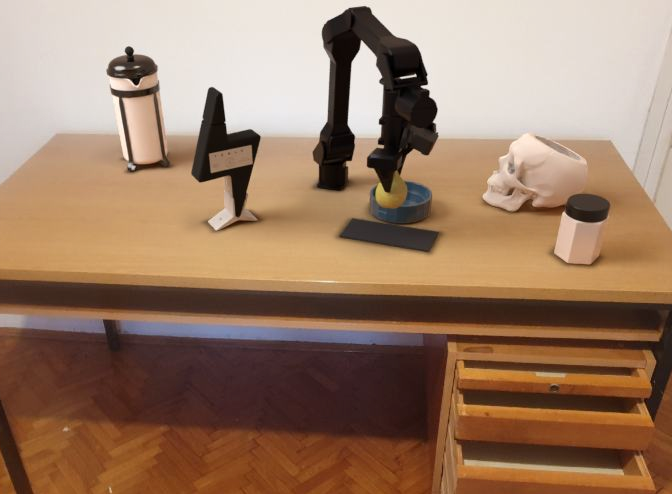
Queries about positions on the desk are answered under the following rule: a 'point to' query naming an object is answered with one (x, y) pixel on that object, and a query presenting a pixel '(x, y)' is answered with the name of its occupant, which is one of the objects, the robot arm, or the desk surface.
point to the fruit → (392, 193)
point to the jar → (582, 228)
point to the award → (225, 160)
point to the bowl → (404, 205)
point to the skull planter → (536, 174)
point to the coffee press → (138, 109)
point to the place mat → (389, 234)
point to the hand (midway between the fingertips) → (391, 185)
